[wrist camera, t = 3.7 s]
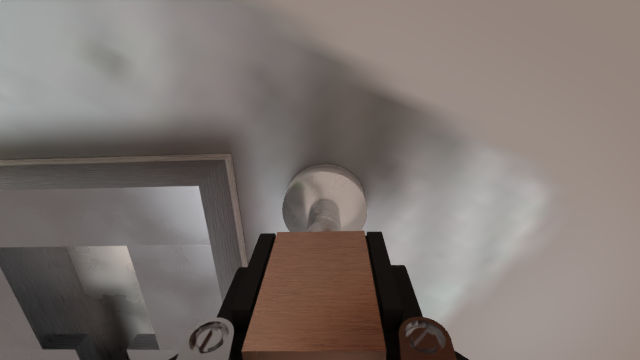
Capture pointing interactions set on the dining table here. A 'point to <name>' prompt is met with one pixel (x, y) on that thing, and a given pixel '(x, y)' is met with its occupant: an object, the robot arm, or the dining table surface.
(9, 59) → the dining table surface
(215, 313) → the keyhole plate
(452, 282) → the dining table surface
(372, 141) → the dining table surface
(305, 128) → the dining table surface
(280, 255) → the peg
